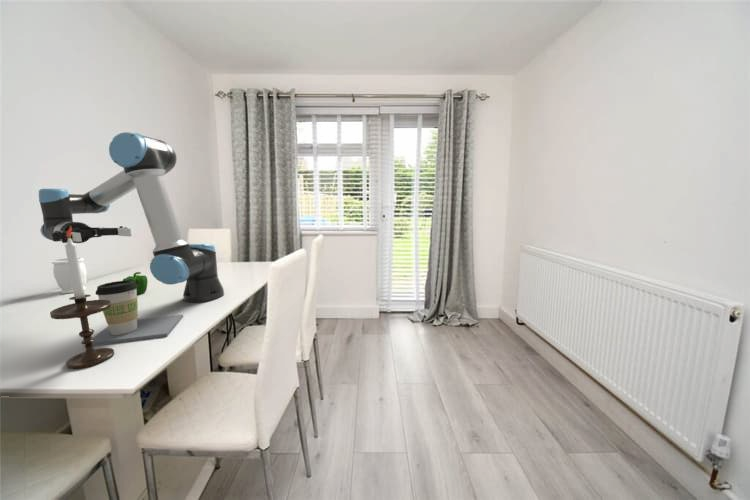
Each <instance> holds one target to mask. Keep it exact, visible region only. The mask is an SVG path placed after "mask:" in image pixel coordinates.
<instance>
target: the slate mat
mask: <svg viewBox="0 0 750 500" xmlns="http://www.w3.org/2000/svg"><path fill="white" fill-rule="evenodd" d="M183 318H184V314H175V315H167V316H166V315H165V316H157V317H156V316H155V317H145V318H137V329H136V330H134V331H132V332H129V333H126V334H122V335H112V334H111V331H110V329H109V326H106V327H105V328H104V329H102V330H101V331H99V333H97V334H96V335H93V337H92V339H94V340H95V341H94V342H92V345H93V347H94V346H95V347H96V346H102V345H110V344H118V343H125V342H126V343H127V342H134V341H135V342H136V341H144V340H150V339H158V338H166V337H169V336H170V334H171V332H172V331H174V329H175V328H176V327H177V325H178V324H179V323H180V322H181V320H182V319H183Z"/></svg>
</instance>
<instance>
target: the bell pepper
mask: <svg viewBox="0 0 750 500" xmlns="http://www.w3.org/2000/svg"><path fill="white" fill-rule="evenodd" d="M126 280H132V281H134V282H135V283H136V284H137V286H138V288H137V295H142V294H145V293H146V291H147V288H148V277H147V275H141V271H137V272H134V273H133V275H132V276H131V275H129V276H127V277H125V278H123V279H122V281H126Z"/></svg>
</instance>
